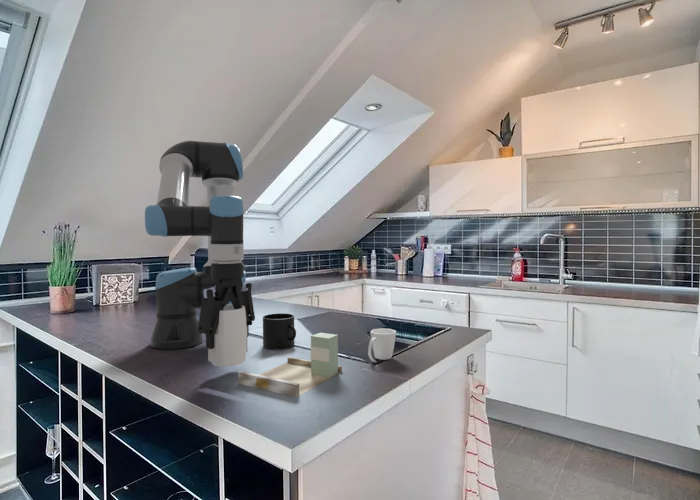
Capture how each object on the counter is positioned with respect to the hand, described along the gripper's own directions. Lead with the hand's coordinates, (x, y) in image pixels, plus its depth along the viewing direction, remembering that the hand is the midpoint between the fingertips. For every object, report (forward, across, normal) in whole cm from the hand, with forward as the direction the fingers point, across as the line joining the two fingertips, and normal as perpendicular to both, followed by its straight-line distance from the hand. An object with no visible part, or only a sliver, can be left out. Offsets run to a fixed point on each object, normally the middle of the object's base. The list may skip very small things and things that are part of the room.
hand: (228, 356), depth 97 cm
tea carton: (+4, +10, -20) cm, 23 cm away
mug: (+5, +26, +5) cm, 28 cm away
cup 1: (+3, 0, 0) cm, 3 cm away
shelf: (+4, +4, -16) cm, 17 cm away
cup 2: (+5, +26, -28) cm, 39 cm away
